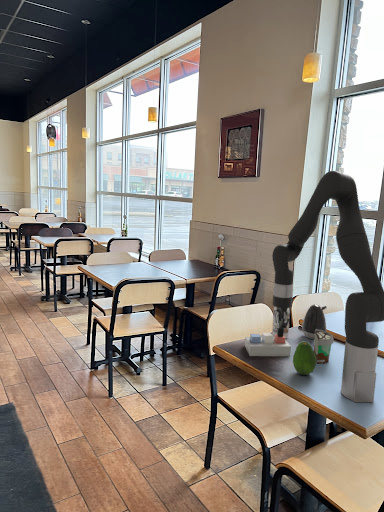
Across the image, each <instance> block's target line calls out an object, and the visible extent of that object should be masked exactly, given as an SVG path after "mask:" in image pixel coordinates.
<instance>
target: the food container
mask: <svg viewBox="0 0 384 512" xmlns="http://www.w3.org/2000/svg"><path fill="white" fill-rule="evenodd" d="M313 342H314V343H313V351H314V353H315V356H316V365H326V364H328V363H329V361H330V355H331V350H332V345H333V344H334V336H333V335H332V334H331V333H330V332H328V331H327V330H326V331H323V330H318V329H315V340H314V341H313Z"/></svg>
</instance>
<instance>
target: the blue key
mask: <svg viewBox="0 0 384 512" xmlns="http://www.w3.org/2000/svg"><path fill="white" fill-rule="evenodd" d="M249 337H250V342H251V343H260V342H261V337H262V336H261V335H260V333H250V336H249Z"/></svg>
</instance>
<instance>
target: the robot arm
mask: <svg viewBox="0 0 384 512" xmlns="http://www.w3.org/2000/svg"><path fill="white" fill-rule="evenodd" d="M329 200H334V201H335V202H336V205H337V208H338V213H339V222H338V225H337V229H336V233H335V240H336V245H337V249H338V253H339V256H340V258H341V259H342V260H343V262H344V264H346V266H347V267H348V268H349V269H350V270H351V271H352V272H353V273H354V275H355V276H356V277H357V279H358V281H359V283H360V285H361V289H362V291H359V292H358V291H357V292H352V293H350V294H349V295H348V296H347V298H346V301H345V309H344V332H345V343H344V344H345V345H344V353H343V362H342V363H343V364H342V376H341V385H340V393H341V395H342V396H343V397H345V398H347V399H349V400H351V401H352V402H353V403H374V401H375V391H376V390H375V389H376V381H377V372H376V370H377V369H376V368H377V360H378V352H379V343H380V339H379V336H378V335H377V334H375V333H374V332H372V331H369V330H367V323H381V322H384V288H383V285H382V283H381V280H380V277H379V276H378V272H377V271H378V270H377V269H376V266H375V262H374V258H373V254H372V251H371V246H370V242H369V239H368V234H367V232H366V228H365V225H364V221H363V217H362V213H361V208H360V203H359V196H358V188H357V184H356V182H355V178H353V177H352V176H351V175H349V174H346V173H343V172H340V171H337V170H329V171H328V172H326V173H325V174H323V176H322V177H321V178H320V180H319V182H318V183H317V185H316V187H315V189H314V192H313V193H312V195H311V197H310V198H309V201H308V203H307V205H306V207H305V209H304V210H303V212H302V214H301V216H300V217H299V219H298V220H297V222H296V223H295V224H294V225H293V227H292V228H291V229H290V232H289V233H288V235H287V238H288V240H287V243H285V244H278V245H276V246H275V247H274V249H273V251H272V257H271V258H272V264H273V269H274V283H273V289H272V290H273V291H272V293H273V294H272V306H273V307H276V309H277V310H274V309H273V313H275V321H276V324H277V336H278V337H283V334H284V328H286V327H287V325H288V322H289V323H290V317H289V318H287V316H288V312H287V309H288V308H289V309H290V308H292V306H293V296H294V295H293V293H294V287H293V286H294V271H293V269H291V268H290V267H289V263H291V262H293V261H295V260H296V259H297V258H298V257H299V256H300V254H301V253H302V250H303V249H304V245H305V244H306V242H307V241H308V240H309V239H310V238H311V236H312V235H313V234H314V232H315V231H316V228H317V226H318V223H319V217H320V214H321V211H322V209H323V207H324V206H325V205H326V203H327V202H328V201H329Z"/></svg>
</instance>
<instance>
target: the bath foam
mask: <svg viewBox="0 0 384 512" xmlns="http://www.w3.org/2000/svg"><path fill="white" fill-rule="evenodd" d="M274 310H277V309H276V307H275V306H273V311H274ZM287 312H288V316H287V318H289V319H290V315H291V313H290V308H288V309H287ZM289 328H290V321H289V322H288V325H287V327H286V328H284V334H283V335H284V337H285V340H287V338H288V337H289ZM271 329H272V333H271V334H272V335H273V337H275V335H277V324H276V321H275V313H274V312H273V316H272V328H271Z"/></svg>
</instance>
